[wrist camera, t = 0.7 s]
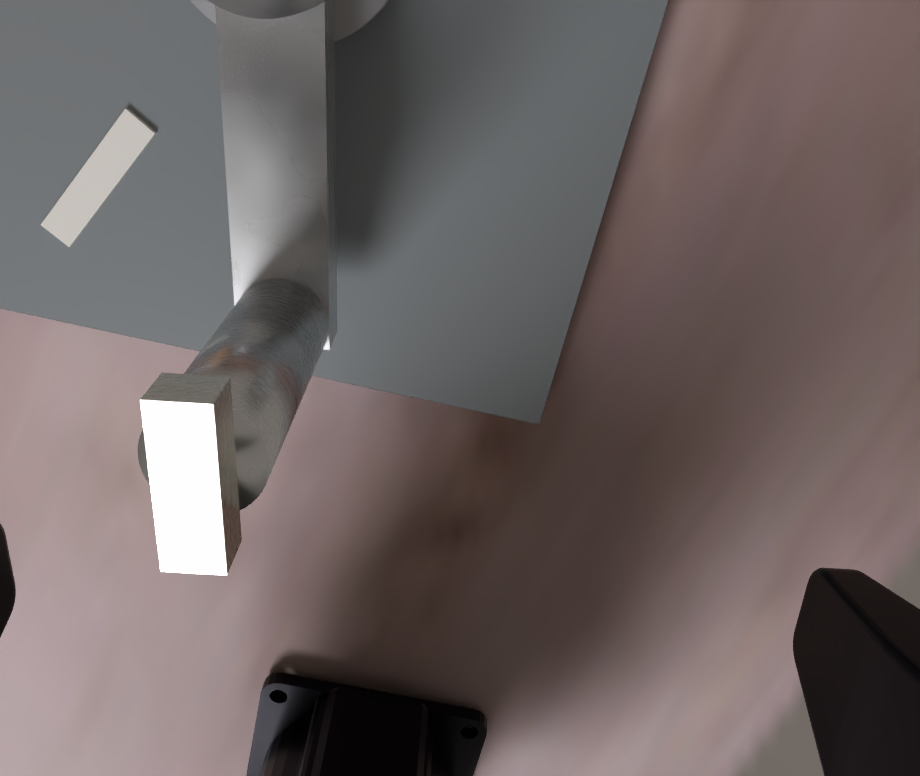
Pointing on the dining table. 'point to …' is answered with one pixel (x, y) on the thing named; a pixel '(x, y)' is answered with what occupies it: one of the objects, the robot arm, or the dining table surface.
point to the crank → (253, 284)
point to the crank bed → (357, 179)
